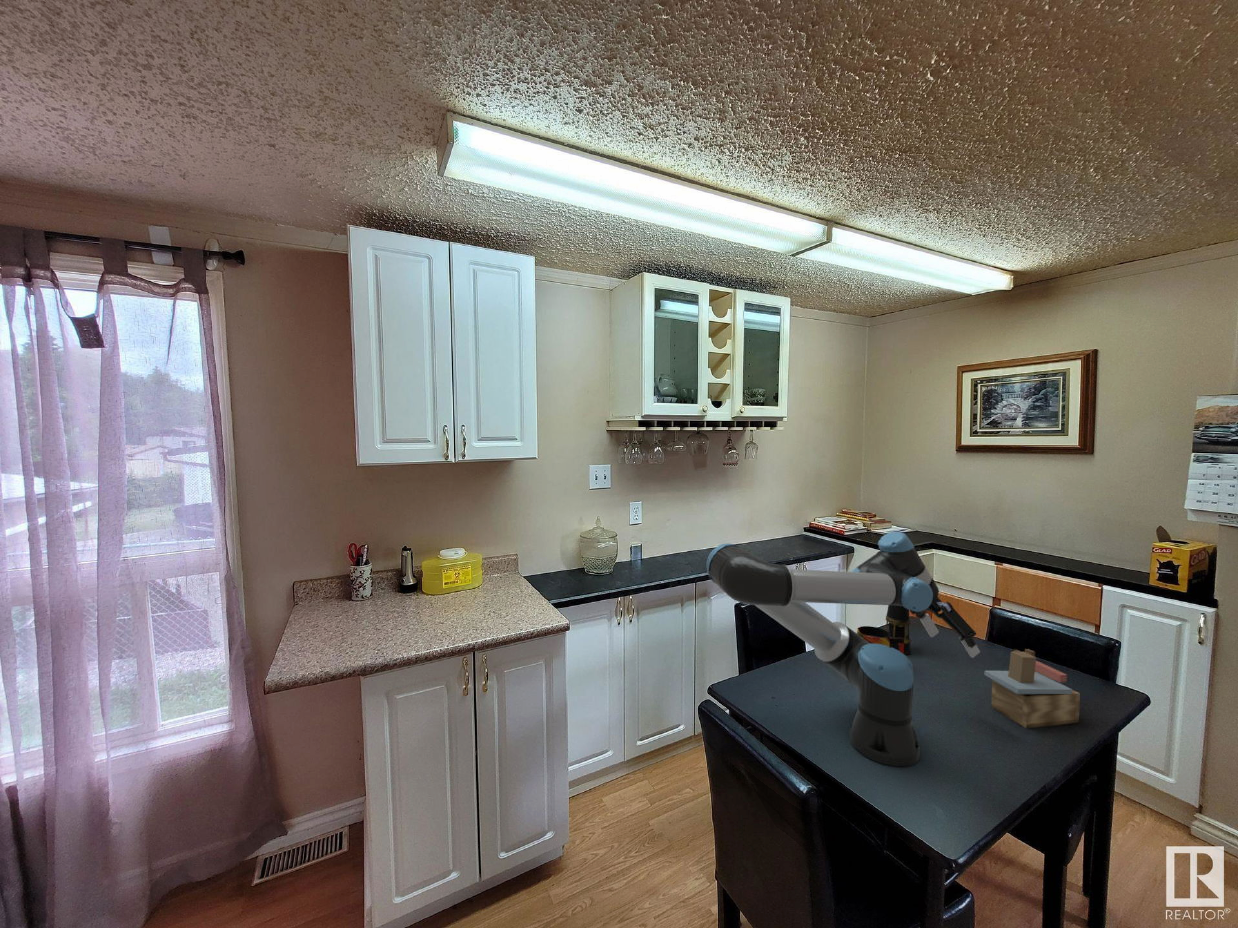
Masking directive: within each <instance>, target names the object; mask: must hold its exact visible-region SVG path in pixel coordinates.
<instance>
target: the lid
mask: <svg viewBox="0 0 1238 928" xmlns="http://www.w3.org/2000/svg"><path fill="white" fill-rule="evenodd" d="M1036 661H1037V657H1036V656H1035V657H1034V656H1032V655H1030V654H1028V653H1025V651H1021V652H1013V651H1010V657H1009V666H1008V667H1009V668H1008V670H984V674H983V675H984V676H986V677H987V678H990V679H991V680H992V679H993V681H994V682H996V683H998V684H1000V685H1001V686H1003V687H1005V688H1007V689H1008V690H1010V691H1012V692H1014V693H1015V694H1022V695H1044V694H1072V690H1073V689H1072V688H1070V687H1068V686H1066V685H1064V684H1062V683H1061V682H1058V681H1056V680H1052V679H1050V678H1048V677H1046V676H1044V675H1042V674H1040V673H1038V672H1036V671H1035V665H1036Z"/></svg>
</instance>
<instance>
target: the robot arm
mask: <svg viewBox="0 0 1238 928" xmlns="http://www.w3.org/2000/svg"><path fill="white" fill-rule="evenodd" d="M877 544H878V549H879V551H877V552H876V553H875V554H874V555H872V556H870V557H869V558H868V559H866V560H865V561H863V562H862V563H861V564H859V565H857V566H856V567H855V568H854V569H853V570H852V571H838V570H836V571H835V570H813V569H796V568H795V569H793V568H792V569H791V568H789V567H788V566H787V565H786V564H778V563H777V564H776V563H771V562H768V561H764V560H762V559H759V557H756V556H754V555H753V554H751V553H750V552H748V551H746V550H745V549H744V548H742V547H741V546H740V545H737V544H734V543H729V542H728V543H722V544H719V545H717V546H715V547H714V549H712V551H711V552H710V553H709V554H708V556H707V560H706V572H707V575H708V577H709V578H710V580H711V582H712V583H714V584H716V585H717V586H718V588H720V589H721V590H722V591H723V592H724V593H725V594H726V595H727V596H728V597H729V598H731V599H733V601H736V602H740V603H741V604H743V605H752V606H755V607H756V608H758V609H759V610H761V611H762V612H764V613H765V614H766V615H768V616H769V617H770V618H772V619H774V620H775V621H776V622H777V623H778V624H780V625H781V626H783V627H784V628H785V629H787V630H788V631H790V632H791V633H792V634H794V635H795V636H796V637H798V638H799V639H801V640H802V641H804V642H805V643H806V644H808V645H809V646H811V648H813V650H814V654H815V656H816V658H818V659H819V660H820V661H821V662H822V663H824V664H825V665H827V666H828V667H829V668H831V669H832V670H834V671H835V672H836V673H837V674H838V675H840V676H842V678H844V679H845V680H846V681H847V682H848V683H850V685H851V686H853V687H854V688H855V689H856V690H857V691H858V692H857V711H856V713H855V716H854V719H853V722H852V723H851V724H850V728H849V741H850V743H851V745H852V746H853V748H854V749H856V751H858V752H859V754H861V755H862V756H864V757H867V759H870V760H872V761H875V762H876V763H879V764H883V765H886V766H892V767H909V766H913V765H915V764H916V763H918V762H919V760H920V756H921V755H920V753H921V752H920V751H921V750H920V743H919V741H918V740H919V739H918V738H917V734H916V731H915V728H914V725H913V700H914V682H915V677H914V670H913V669H914V668H913V663H912V662H911V660H910V659H909V658H908V657H907V655H904V654H903V653H901V652H900V651H898V650H896V649H894V648H889V647H888V646H886V645H882V644H871V643H869V642H868V641H866V640H865V639H863V638H862V637H861V636H859V635H858V634H857V631H854V630H853V629H851V628H850V627H849V626H847V625H846V624H845V623H842V622H840V621H834V622H832V621H831V620H829V619H828V618H827V617H826V616H824V615H823V614H822V613H820V612H819V611H818V610H816V609H815V608H813V607H812V606H811V605H810V604H809V603H812V604H813V603H815V604H816V603H817V604H839V605H840V604H846V605H872V606H873V605H876V606H888V605H895V606H903V607H905V608H906V609H909V613H911V614H912V615H914V614H915V616H916V618H918V619H919V620H920V622H921V623H922V625H923V627H924V629H925V630H926V632H927V634H928V635H929V637H930V638H934V637H935V636H937V635H938V634H939V633H940V631H939V629H938V628H937V625H936V624H935V623H934V621H933V619H932V618H931V616H930V614H928V613H927V612H931V613H932V614H933V615H934V616H936V618H939V619H940V620H941V619H942V620H943V622H944V623H946V624H947V625H948V627H949V628H951V629H952V630H953V631H954V632H955V633H956V634H957V635H958V636H959V637H958V638H959V641H960V642H961V643H962V645H963V647H964V649H965V650H966V652H967V654H968V655H969V657H970V658H972V659H973V658H974V657H976V656H978V655H979V654H981V650H980V649H979V648H978V645H977V644H976V642H975V640H974V638H973V637H974V636H976V635H977V633H976V631H975V630H974V629H973V628H972V626H971V625H970V624H969V623H967V622H966V620H965V619H964V618H963V617H962V616H961V615H960V614H959V613H958V611H956V609H955V608H954V607H953V605H952V603H951V602H950V601H946V602H943V601H942V600H941V599H940V598H939V591H940V590H939V587H938V586H937V584H936V582H935V580H934V578H933V577H932V576H931V574H930V571H928V568H927V566H926V564H924V562H923V559H922V558H921V557H920V555H919V553H918V551H917V550H916V548H915V545H914V544H913V542H912V541H911V539H910V538H909V537H908V536H907V534H905V533H904V532H901V531H893V532H888V533H886V534H884V535H883V536H881V537H880V539H879V540H878V542H877Z"/></svg>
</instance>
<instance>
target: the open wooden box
mask: <svg viewBox="0 0 1238 928" xmlns="http://www.w3.org/2000/svg"><path fill="white" fill-rule="evenodd" d="M991 680H992V681H991V682H992V683H991V684H992V685H991V706H990V707H991V708H992V709H994V710H996V711H997V712H999V713H1001V714H1002V715H1004V716H1006V717H1007V718H1009V719H1010V720H1012V721H1014V722H1015V723H1017V724H1019V725H1020V726H1022V727H1023V728H1025V729H1032V728H1040V727H1041V728H1042V727H1051V726H1059V725H1068V724H1076V723H1077V724H1078V723H1080V722H1079V719H1080V699H1081V698H1080V697H1081V693H1080V692H1077V691H1076V690H1074V689H1072V694H1044V695H1022V694H1015V693H1014V692H1012V691H1010V690H1008V689H1007V688H1005V687H1003V686H1001V685H1000V684H998V683H996V682H994V681H993V679H991Z"/></svg>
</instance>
